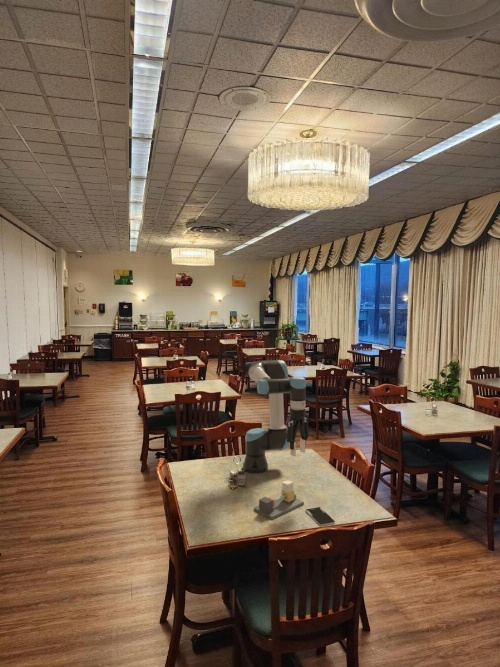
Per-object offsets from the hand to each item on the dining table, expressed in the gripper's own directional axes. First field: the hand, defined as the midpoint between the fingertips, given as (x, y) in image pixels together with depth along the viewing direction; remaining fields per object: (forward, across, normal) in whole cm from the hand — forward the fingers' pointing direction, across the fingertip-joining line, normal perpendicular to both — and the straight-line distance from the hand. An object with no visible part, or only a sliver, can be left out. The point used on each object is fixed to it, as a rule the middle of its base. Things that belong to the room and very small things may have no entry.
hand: (297, 453), depth 206 cm
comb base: (+23, -14, 0) cm, 27 cm away
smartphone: (+24, -6, -19) cm, 31 cm away
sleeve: (+21, -7, 0) cm, 22 cm away
